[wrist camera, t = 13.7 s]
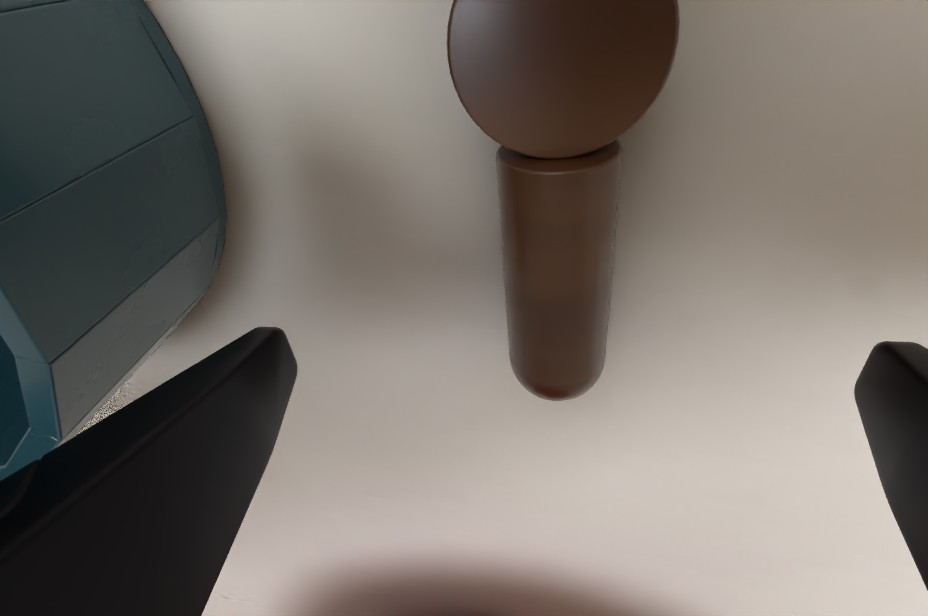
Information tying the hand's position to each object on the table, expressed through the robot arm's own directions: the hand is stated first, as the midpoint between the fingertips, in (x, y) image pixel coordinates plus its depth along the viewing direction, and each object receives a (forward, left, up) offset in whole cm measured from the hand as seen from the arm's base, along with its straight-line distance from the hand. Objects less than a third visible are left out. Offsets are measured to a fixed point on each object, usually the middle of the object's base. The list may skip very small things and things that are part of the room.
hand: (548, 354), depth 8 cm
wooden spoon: (+1, 0, -6) cm, 6 cm away
